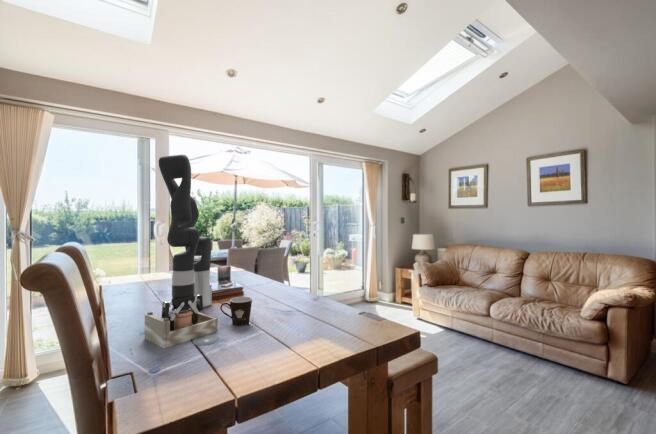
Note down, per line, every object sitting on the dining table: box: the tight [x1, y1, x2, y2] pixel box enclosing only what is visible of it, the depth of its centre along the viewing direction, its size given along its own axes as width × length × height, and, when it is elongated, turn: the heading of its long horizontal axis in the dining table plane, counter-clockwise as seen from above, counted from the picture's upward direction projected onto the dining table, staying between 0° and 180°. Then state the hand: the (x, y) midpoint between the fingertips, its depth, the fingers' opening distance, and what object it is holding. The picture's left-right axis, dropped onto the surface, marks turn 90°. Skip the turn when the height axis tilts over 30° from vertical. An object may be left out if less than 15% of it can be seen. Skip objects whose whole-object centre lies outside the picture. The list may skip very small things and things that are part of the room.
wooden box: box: [144, 311, 219, 349], centre depth 112 cm, size 20×14×10 cm
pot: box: [175, 309, 193, 330], centre depth 113 cm, size 6×6×8 cm
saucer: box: [192, 334, 220, 346], centre depth 107 cm, size 8×8×1 cm
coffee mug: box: [220, 296, 253, 327], centre depth 125 cm, size 12×9×10 cm
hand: (183, 326), depth 113 cm, fingers open, 8 cm apart
